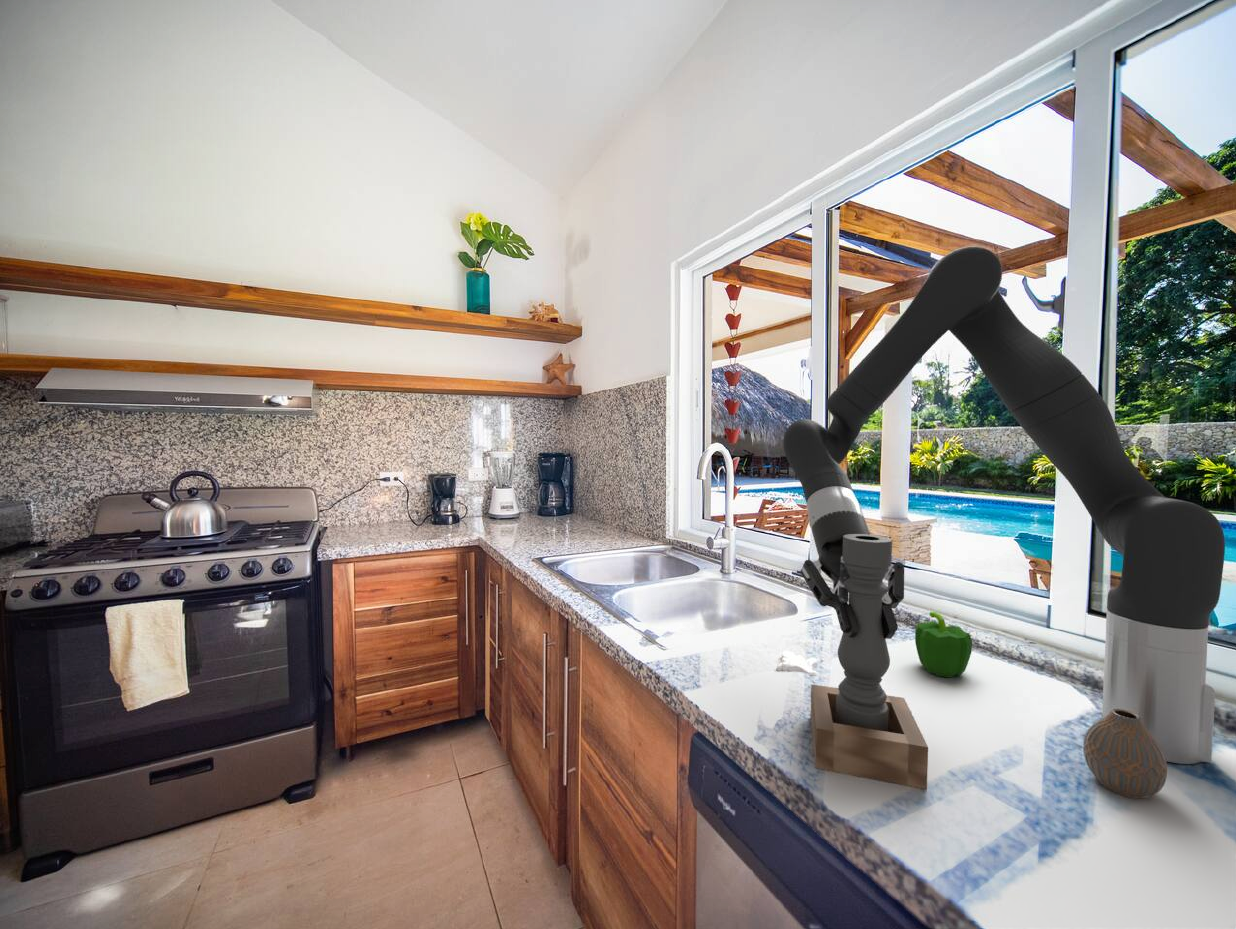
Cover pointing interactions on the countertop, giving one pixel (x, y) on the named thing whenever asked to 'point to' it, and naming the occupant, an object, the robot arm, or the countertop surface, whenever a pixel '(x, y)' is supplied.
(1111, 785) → the vase
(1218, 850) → the countertop surface
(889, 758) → the socket block
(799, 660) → the acanthus leaf ornament
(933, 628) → the bell pepper
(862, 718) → the candle holder
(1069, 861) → the countertop surface
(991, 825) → the countertop surface
